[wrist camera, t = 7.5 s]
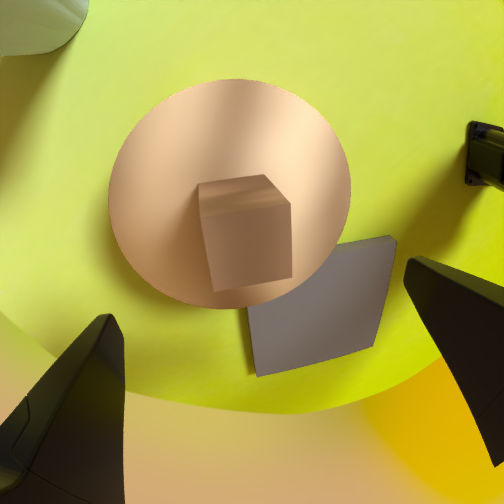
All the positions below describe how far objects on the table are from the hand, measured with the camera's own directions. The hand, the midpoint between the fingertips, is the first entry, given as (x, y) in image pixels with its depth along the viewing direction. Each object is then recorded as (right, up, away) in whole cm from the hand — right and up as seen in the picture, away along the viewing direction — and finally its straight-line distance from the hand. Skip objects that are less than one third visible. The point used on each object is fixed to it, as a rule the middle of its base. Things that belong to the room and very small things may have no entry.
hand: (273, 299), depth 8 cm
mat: (+5, -4, +18) cm, 19 cm away
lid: (-2, +4, +7) cm, 8 cm away
